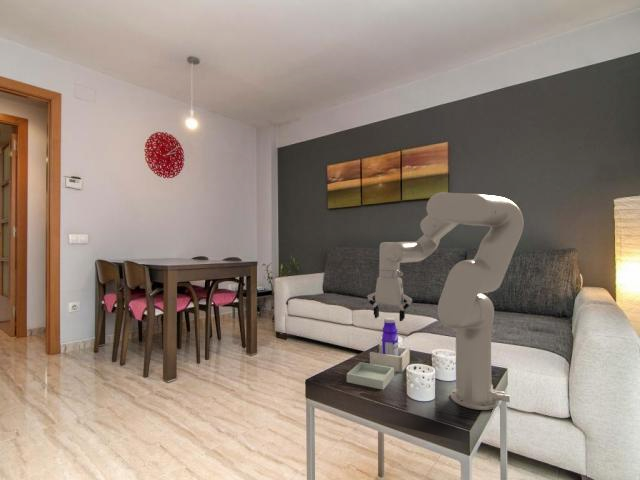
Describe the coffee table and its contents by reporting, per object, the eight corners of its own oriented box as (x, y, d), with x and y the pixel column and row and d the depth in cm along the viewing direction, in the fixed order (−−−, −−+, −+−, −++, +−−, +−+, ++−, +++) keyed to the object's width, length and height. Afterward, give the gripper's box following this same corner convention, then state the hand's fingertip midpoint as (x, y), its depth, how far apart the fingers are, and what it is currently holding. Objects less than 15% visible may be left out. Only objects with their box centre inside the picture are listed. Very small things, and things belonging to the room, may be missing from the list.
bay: (409, 362, 131) (409, 348, 131) (401, 373, 120) (401, 357, 120) (380, 357, 136) (379, 344, 136) (369, 367, 126) (369, 352, 126)
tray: (394, 375, 118) (394, 367, 118) (383, 389, 106) (383, 380, 106) (360, 369, 124) (360, 361, 124) (346, 382, 112) (346, 373, 112)
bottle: (394, 368, 124) (394, 321, 124) (379, 365, 126) (379, 319, 127) (400, 362, 130) (400, 317, 130) (386, 360, 133) (385, 315, 133)
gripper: (414, 274, 128) (414, 319, 128) (371, 272, 136) (370, 314, 136) (409, 276, 121) (409, 324, 121) (364, 273, 129) (364, 318, 130)
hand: (388, 319), depth 129 cm, fingers open, 9 cm apart
